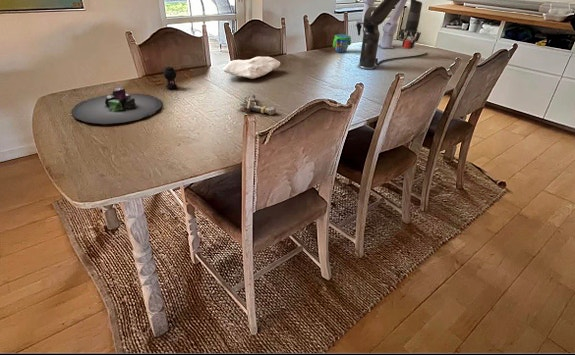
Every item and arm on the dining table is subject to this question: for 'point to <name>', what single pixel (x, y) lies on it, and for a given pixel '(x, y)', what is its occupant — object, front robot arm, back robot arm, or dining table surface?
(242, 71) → the crumpled cloth
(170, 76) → the gumball machine
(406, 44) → the red cube
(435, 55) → the dining table surface
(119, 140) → the dining table surface
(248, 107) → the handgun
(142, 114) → the dark grey serving platter
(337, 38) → the snack cup
